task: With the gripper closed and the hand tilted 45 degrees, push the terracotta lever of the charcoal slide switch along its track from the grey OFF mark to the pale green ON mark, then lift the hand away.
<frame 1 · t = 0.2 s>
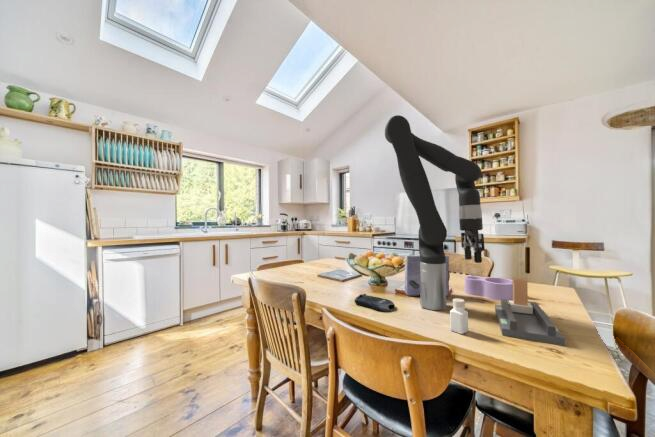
hand: (473, 261, 97), 18 cm above the table, tool pointing down, fingers open, 8 cm apart
switch lever: (520, 294, 88), point 8 cm above the table, slide at 0.0 cm
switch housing: (524, 325, 82), on the table
cake pan box: (427, 295, 115), on the table
clip: (491, 296, 113), on the table
salt shaker: (459, 331, 79), on the table
electronic device: (375, 307, 103), on the table
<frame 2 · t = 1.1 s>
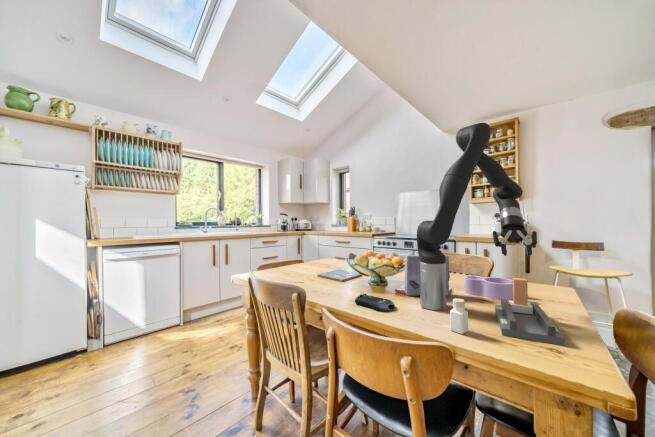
hand: (517, 254, 93), 20 cm above the table, tool tilted 45°, fingers open, 6 cm apart
nothing on the table moved.
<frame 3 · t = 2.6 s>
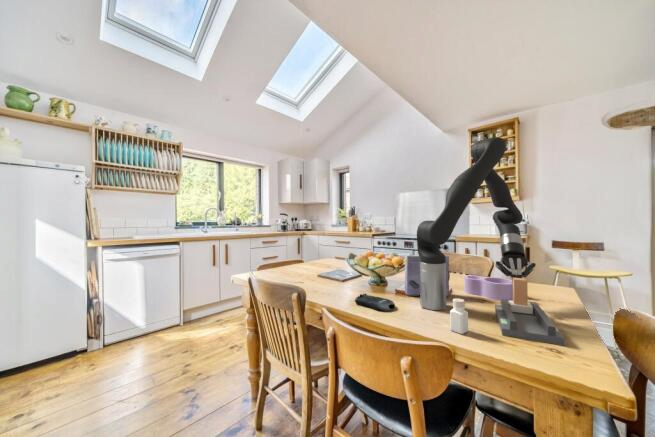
hand: (518, 285, 93), 9 cm above the table, tool tilted 45°, fingers closed
nothing on the table moved.
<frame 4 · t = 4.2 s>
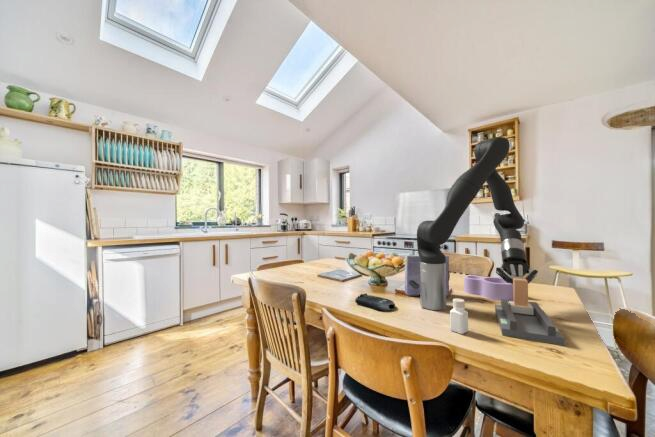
hand: (519, 293, 90), 8 cm above the table, tool tilted 45°, fingers closed
switch lever: (520, 295, 88), point 8 cm above the table, slide at 0.8 cm, touching gripper
everything else where it was.
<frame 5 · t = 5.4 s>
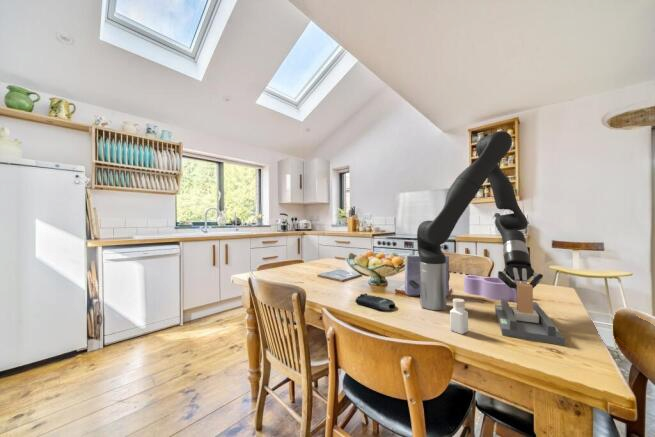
hand: (523, 299, 83), 8 cm above the table, tool tilted 45°, fingers closed
switch lever: (524, 301, 82), point 8 cm above the table, slide at 7.8 cm, touching gripper
everything else where it was.
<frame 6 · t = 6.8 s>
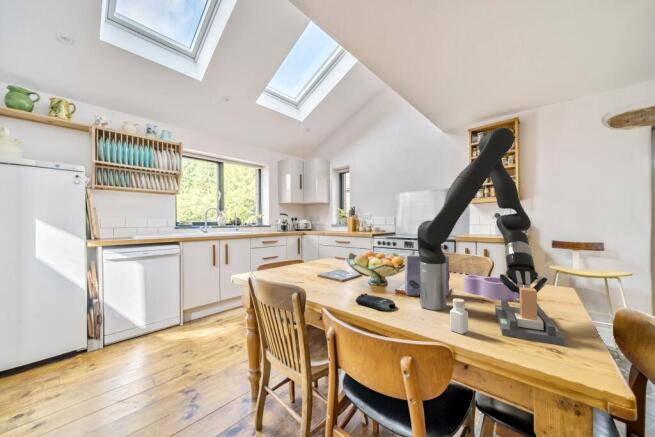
hand: (526, 304, 79), 8 cm above the table, tool tilted 45°, fingers closed
switch lever: (528, 307, 77), point 8 cm above the table, slide at 13.0 cm, touching gripper
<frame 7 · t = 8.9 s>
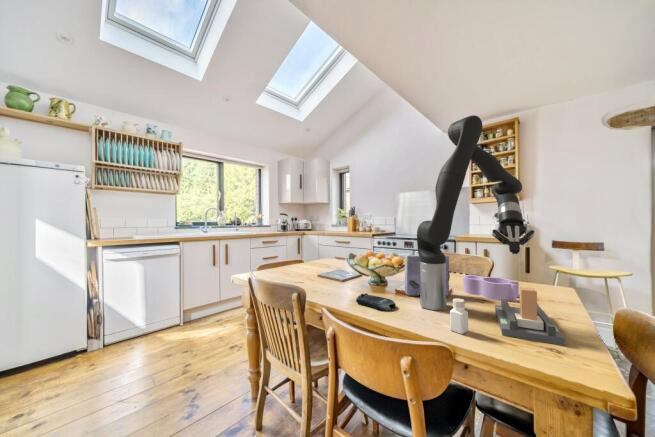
hand: (515, 252, 88), 22 cm above the table, tool tilted 45°, fingers closed
switch lever: (528, 307, 77), point 8 cm above the table, slide at 13.1 cm
everything else where it was.
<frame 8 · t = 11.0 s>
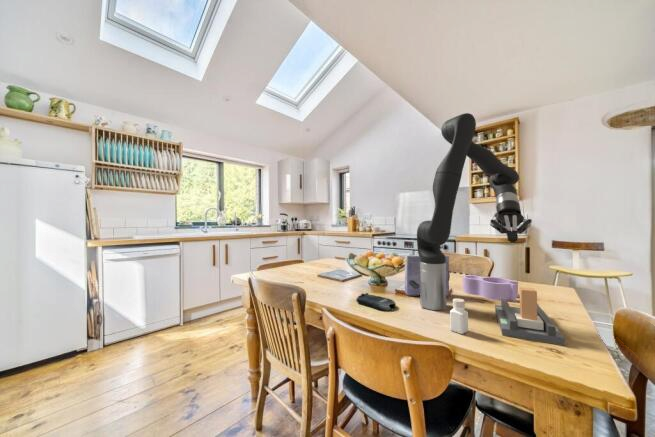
hand: (513, 241, 90), 26 cm above the table, tool tilted 45°, fingers closed
at the end: switch lever slide at 13.1 cm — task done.
